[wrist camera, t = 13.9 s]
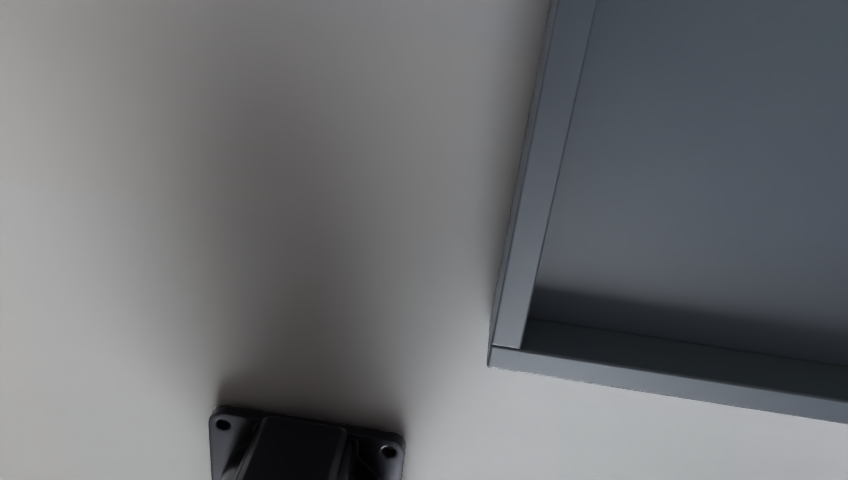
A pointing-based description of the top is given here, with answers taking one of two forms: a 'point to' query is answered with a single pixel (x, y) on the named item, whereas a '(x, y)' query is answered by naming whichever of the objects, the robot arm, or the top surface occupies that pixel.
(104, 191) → the top surface
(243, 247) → the top surface
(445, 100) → the top surface
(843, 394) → the tray
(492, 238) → the top surface
